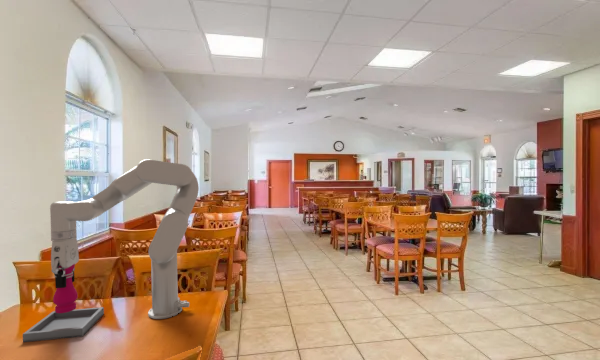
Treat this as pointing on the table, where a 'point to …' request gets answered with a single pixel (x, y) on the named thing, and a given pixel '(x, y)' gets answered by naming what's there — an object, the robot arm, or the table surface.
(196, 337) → the table surface
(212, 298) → the table surface
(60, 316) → the serving tray
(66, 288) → the pepper mill
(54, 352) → the table surface
